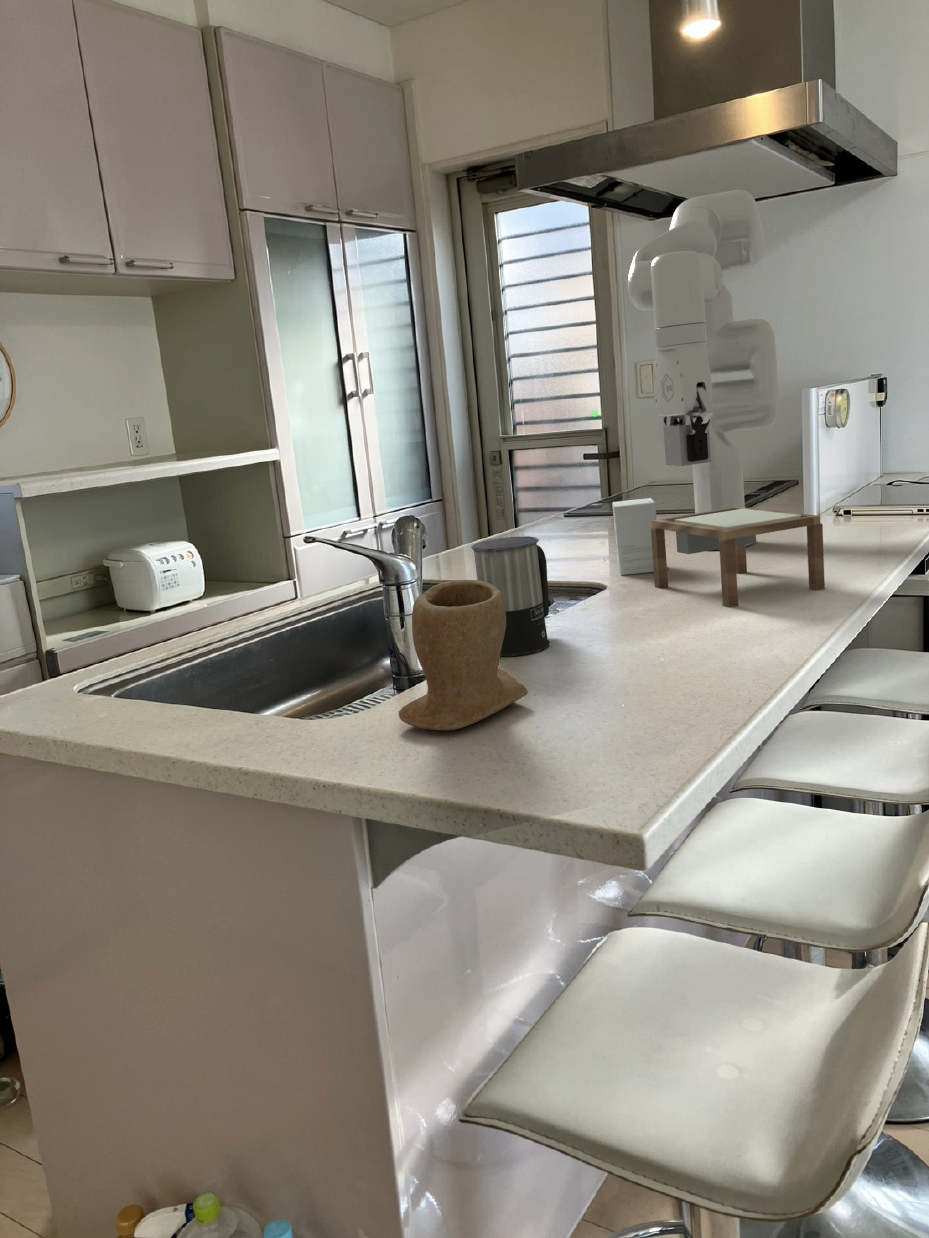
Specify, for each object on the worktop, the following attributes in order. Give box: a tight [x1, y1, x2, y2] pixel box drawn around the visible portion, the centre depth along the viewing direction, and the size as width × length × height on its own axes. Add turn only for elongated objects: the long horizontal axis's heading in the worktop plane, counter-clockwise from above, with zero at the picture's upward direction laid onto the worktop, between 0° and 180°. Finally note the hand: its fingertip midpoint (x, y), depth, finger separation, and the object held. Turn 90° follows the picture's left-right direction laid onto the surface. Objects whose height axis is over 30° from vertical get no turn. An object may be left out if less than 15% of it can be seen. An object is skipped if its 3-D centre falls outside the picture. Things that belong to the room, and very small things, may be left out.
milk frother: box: [470, 535, 550, 657], centre depth 140 cm, size 14×16×15 cm
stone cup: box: [397, 579, 529, 731], centre depth 109 cm, size 15×12×15 cm
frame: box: [651, 506, 826, 608], centre depth 160 cm, size 22×17×11 cm
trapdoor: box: [675, 509, 801, 555], centre depth 158 cm, size 15×13×5 cm
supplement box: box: [612, 497, 658, 576], centre depth 183 cm, size 7×7×13 cm
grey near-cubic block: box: [662, 422, 711, 467], centre depth 156 cm, size 5×5×6 cm
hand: (688, 458), depth 156 cm, fingers closed on grey near-cubic block, 5 cm apart
